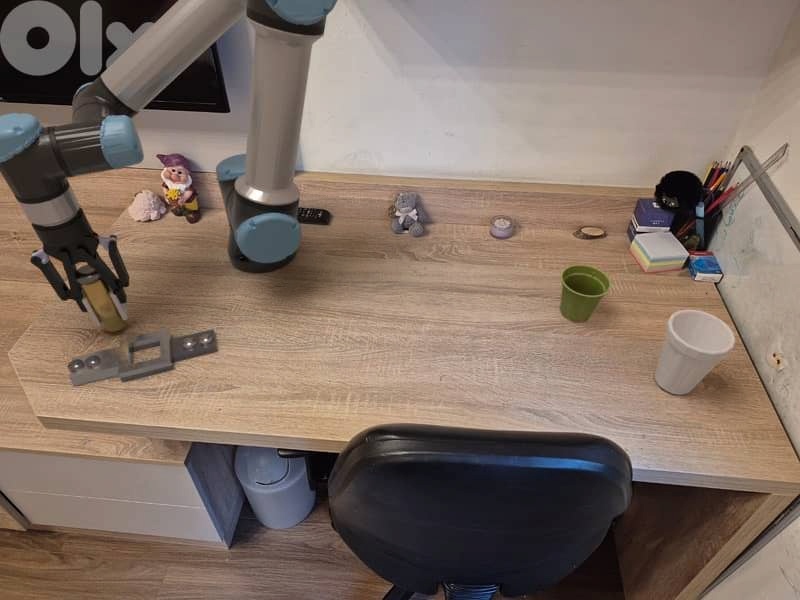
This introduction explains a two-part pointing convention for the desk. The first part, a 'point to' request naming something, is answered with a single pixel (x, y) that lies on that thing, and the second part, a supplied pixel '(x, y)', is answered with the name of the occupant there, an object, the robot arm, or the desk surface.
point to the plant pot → (582, 291)
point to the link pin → (100, 298)
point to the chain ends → (122, 361)
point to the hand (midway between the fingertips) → (112, 317)
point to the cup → (691, 349)
